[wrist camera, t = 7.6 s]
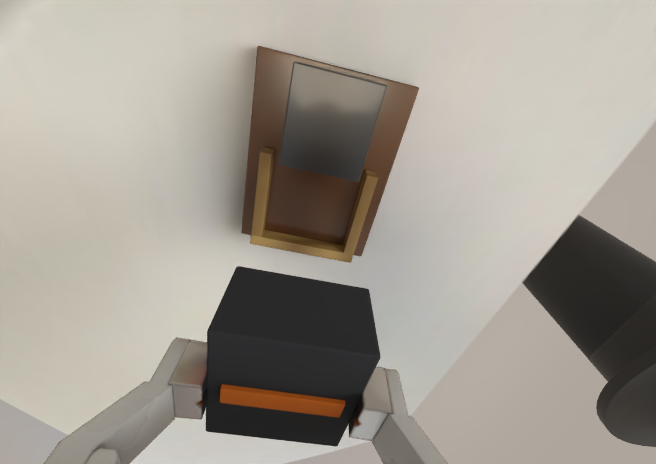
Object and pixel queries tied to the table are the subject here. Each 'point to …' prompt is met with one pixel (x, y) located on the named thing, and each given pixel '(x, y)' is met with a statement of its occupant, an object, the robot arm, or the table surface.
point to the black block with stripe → (288, 357)
